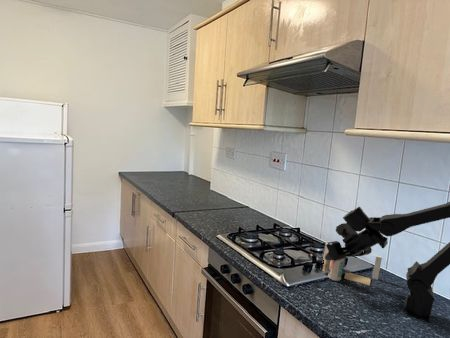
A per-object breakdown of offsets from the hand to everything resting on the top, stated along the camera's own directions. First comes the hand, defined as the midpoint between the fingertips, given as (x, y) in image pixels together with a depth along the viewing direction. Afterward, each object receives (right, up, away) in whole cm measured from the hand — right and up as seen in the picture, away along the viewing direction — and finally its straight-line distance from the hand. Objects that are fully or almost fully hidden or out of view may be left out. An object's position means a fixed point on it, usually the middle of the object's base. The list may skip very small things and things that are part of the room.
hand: (334, 256), depth 119 cm
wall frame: (+9, -8, +8) cm, 14 cm away
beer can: (0, -8, 0) cm, 8 cm away
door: (+1, -7, +5) cm, 9 cm away
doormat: (+9, -9, +1) cm, 13 cm away
